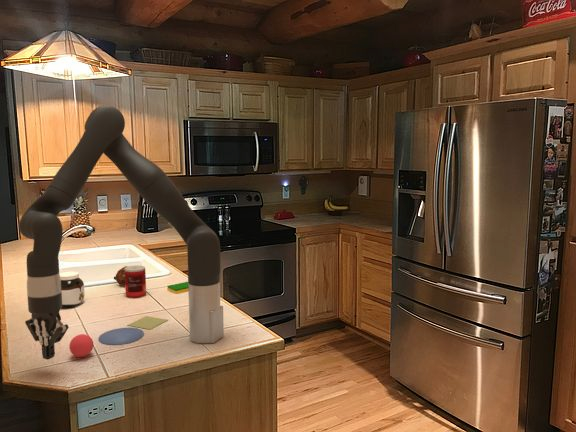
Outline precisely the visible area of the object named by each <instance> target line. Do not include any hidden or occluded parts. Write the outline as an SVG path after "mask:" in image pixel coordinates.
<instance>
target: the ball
mask: <svg viewBox="0 0 576 432" xmlns="http://www.w3.org/2000/svg"><path fill="white" fill-rule="evenodd" d="M93 349H94V340H93V338H92V337H91V336H90V335H88V334H85V333H82V334H80V333H79V334H77V335H76V336H74V337H73V338H72V339H71V340H70V343H69V351H70V353H71V355H73V356H74V357H77V358H84V357H87V356H88V355H89V354H91V352H92V351H93Z"/></svg>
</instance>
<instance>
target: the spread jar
mask: <svg viewBox="0 0 576 432" xmlns="http://www.w3.org/2000/svg"><path fill="white" fill-rule="evenodd" d="M59 274H60V279H61V291H62V308H61V309H72V308H76V307H79V306H81V304H82V303H83V302H84V299H85V282H84V281H83V280H82V278H80V273H79V272H78V271H66V272H65V271H64V272H59Z"/></svg>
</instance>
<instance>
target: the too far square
mask: <svg viewBox="0 0 576 432" xmlns="http://www.w3.org/2000/svg"><path fill="white" fill-rule="evenodd" d="M167 321H169V320H168V319H166V318H165V319H164V318H159V317H153V316H148V315H146V316H143V317H142V318H140V319H137V320H134V321H133V322H131V323H128V324H127V326H128V327H131V328H138V329H145V330H149V331H150V330H153V329H154V328H156V327H158V326H160V325H162V324H163V323H166V322H167Z"/></svg>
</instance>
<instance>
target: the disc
mask: <svg viewBox="0 0 576 432" xmlns="http://www.w3.org/2000/svg"><path fill="white" fill-rule="evenodd" d="M144 335H145V332H144V330H142V328H137V327H120V328H119V327H118V328H114V329H111V330H107V331H105V332H103V333H101V334H100V335H99V336H98V338H97V339H98V342H99V343H101V344H103V345H107V346H121V345H126V344H131V343H134V342H137V341H139V340H140V339H142V338H143V337H144Z"/></svg>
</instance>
